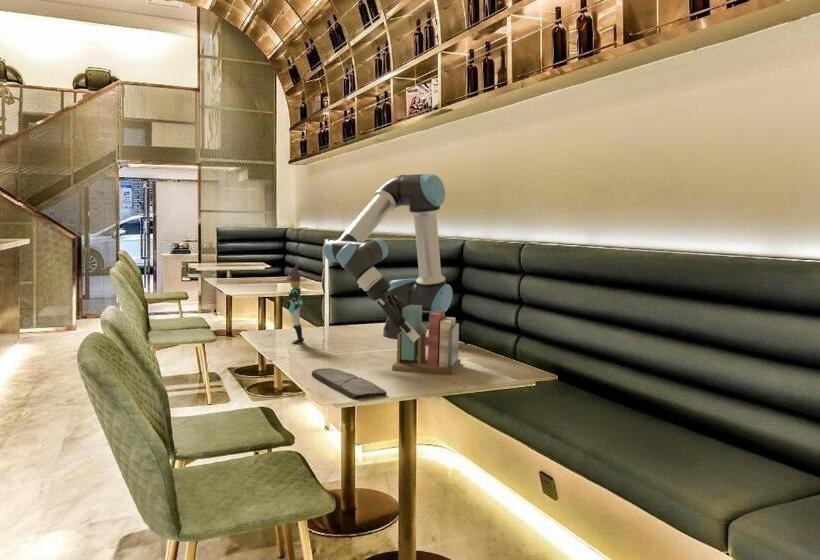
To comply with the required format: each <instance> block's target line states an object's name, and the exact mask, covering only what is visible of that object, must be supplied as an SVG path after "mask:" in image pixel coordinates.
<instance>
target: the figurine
mask: <svg viewBox="0 0 820 560" xmlns="http://www.w3.org/2000/svg"><path fill="white" fill-rule="evenodd" d="M299 265H300V262H299V263H296V264H295V266H294V267H293V269H291V270H290V273H289V274H288V275H287V277H286V279H283V280H282V282H283V283H287V282H289V283H290V287H291V288H292V289H290V290H289V292H288V298H289V299H286V301H288V302H289V306H288V307H289V308H288V310H287V312H288V313H289V314H290V317H291V322H292V324H293V326H292V329H294V331H295V333H296V336H297V339H296V340H292V342H291V344H292V345H298V344H303V342H304V341H305V339H304V337H303V328H302V324H301V322H300V319H301V315H300V310H301V309H302V307H301V306H299V305H304V302H303V298H302V297H301V292H302V291H301V290H302V287H300V285H301V282H305V281H307V280H308V279H301V275H300V273H299V271H298V270H299ZM290 275H291V276H290Z"/></svg>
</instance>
